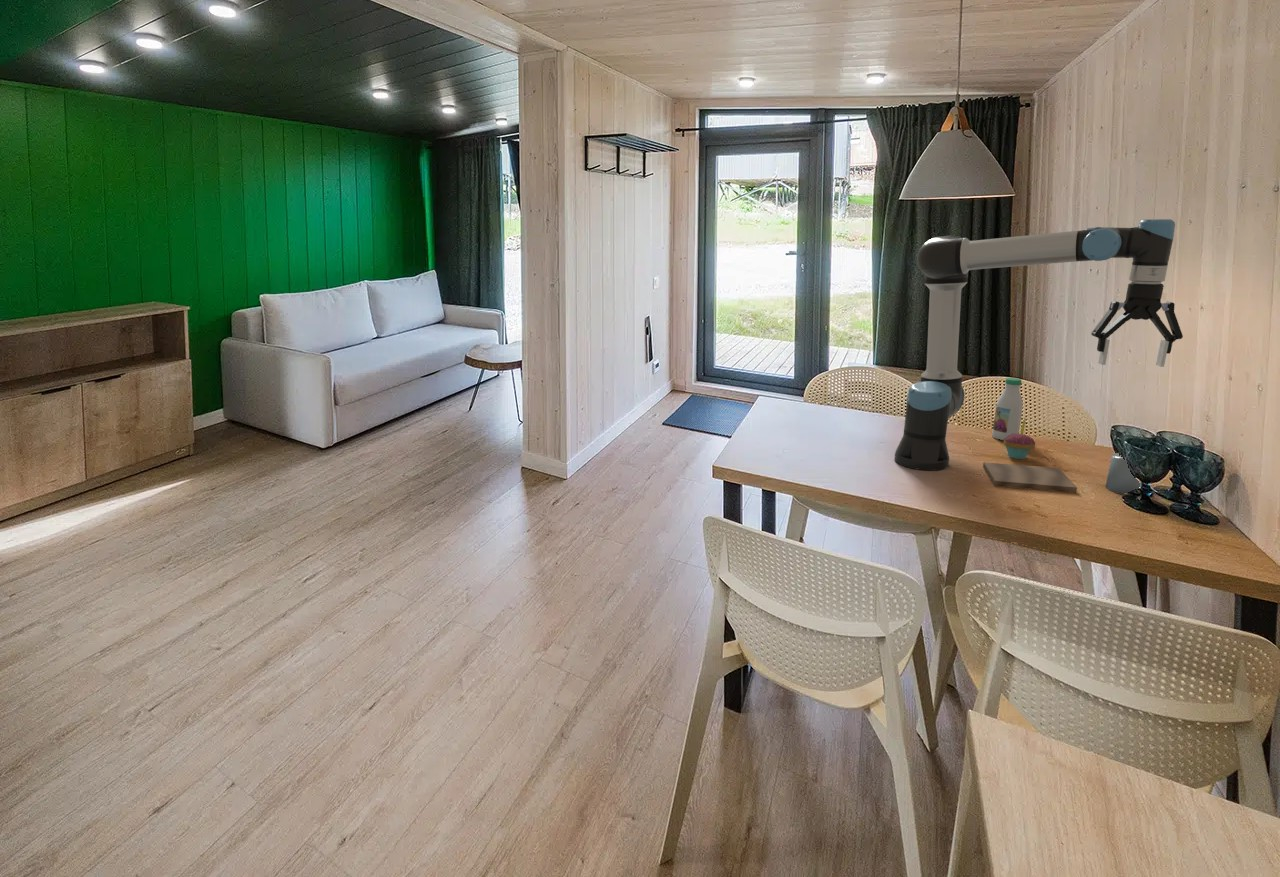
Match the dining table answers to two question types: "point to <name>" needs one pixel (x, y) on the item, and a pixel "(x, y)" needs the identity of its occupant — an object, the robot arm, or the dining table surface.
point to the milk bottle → (1008, 410)
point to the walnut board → (1029, 477)
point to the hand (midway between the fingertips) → (1130, 365)
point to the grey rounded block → (1120, 476)
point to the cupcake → (1019, 444)
